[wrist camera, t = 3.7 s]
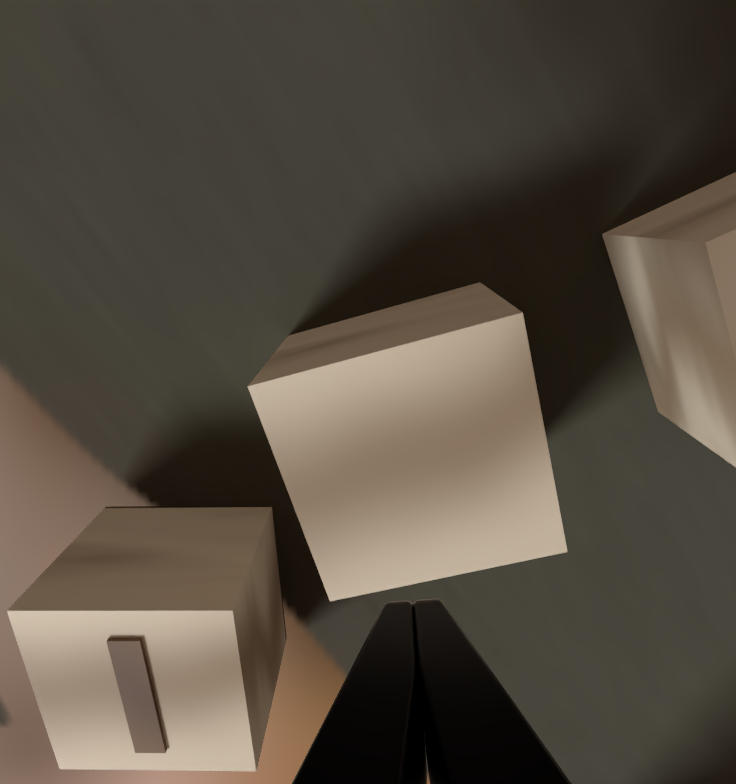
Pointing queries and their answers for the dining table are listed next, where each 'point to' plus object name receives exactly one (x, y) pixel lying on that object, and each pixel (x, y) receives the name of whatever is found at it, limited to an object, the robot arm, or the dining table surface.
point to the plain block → (413, 442)
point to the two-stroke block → (685, 308)
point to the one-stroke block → (157, 639)
